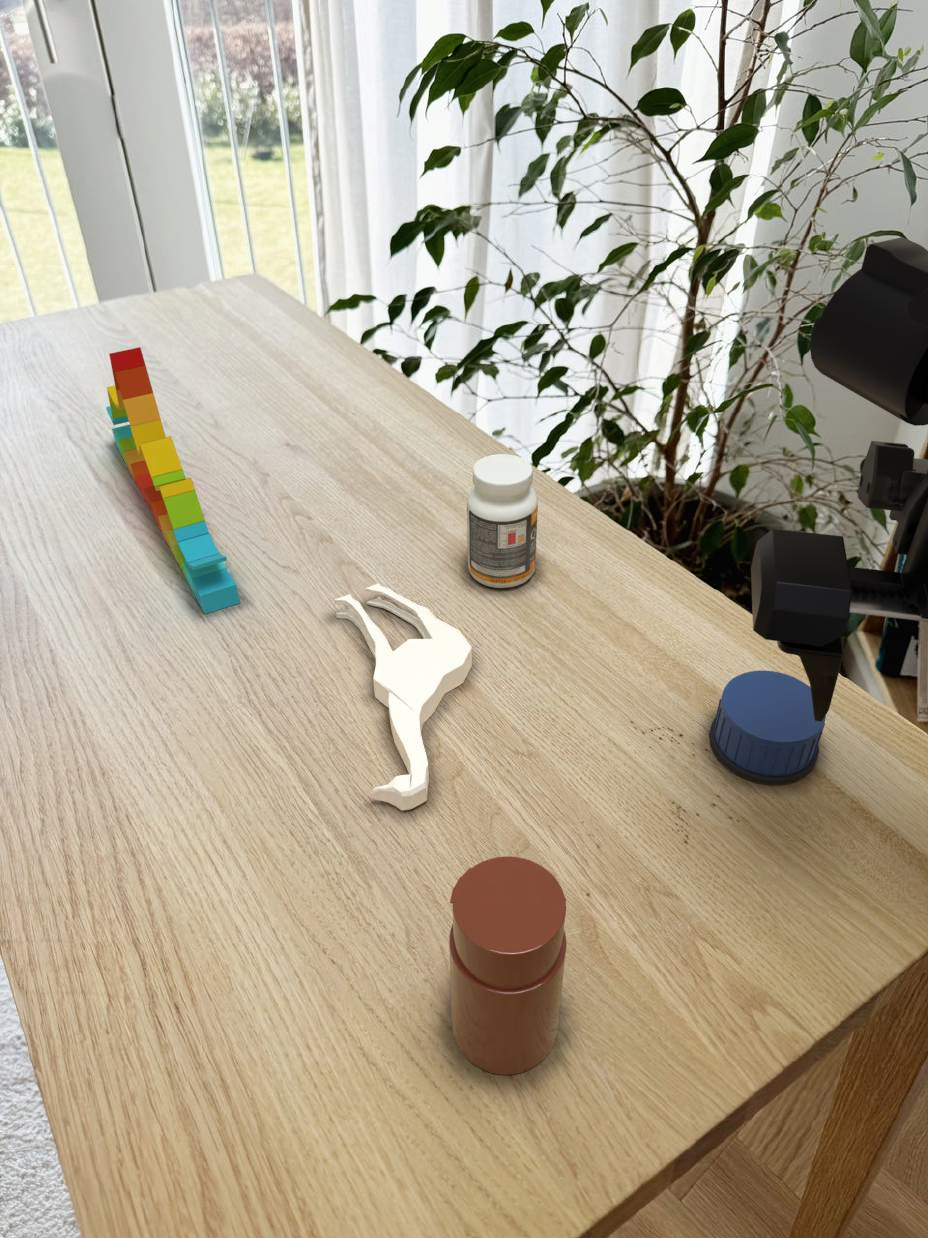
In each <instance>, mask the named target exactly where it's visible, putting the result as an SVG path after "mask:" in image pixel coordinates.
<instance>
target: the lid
mask: <svg viewBox="0 0 928 1238" xmlns="http://www.w3.org/2000/svg"><path fill="white" fill-rule="evenodd" d="M715 717H716V718H715ZM715 717H714V718H715V723H714V725H715V730H714V735H715V739H716V742H717V744H718V746H719V748H720V749H721V751H722V752H723V753H724V755H725V756H726V757H727V758H728V759H730V760H731V761H732V762H733V763H735V764H737V765H738V766H740V767H742V768H744V769H746V770H748V771H751V772H754V773H757V774H762V775H769V776H783V775H789V774H792V773H795V772H798V771H800V770H801V769H803V768H804V767H806V766H807V765H808V764H809V763H810V761H811V760H812V758H814V756H815V753H816V750H817V747H818V745H819V743H820V742H821V741H820V740H821V738H822V734H823V731H824V728H825V725H826V717H827V715H826V716H825V718H824V719H823V721H821V722H820V721H815V720H814V712H813V704H812V695H811V687H810V685H808V684H807V683H805V682H804V681H802V680H800V679H798V678H796V677H794V676H792V675H789V674H786V673H783V672H780V671H773V670H752V671H747V672H743V673H740V674H738V675H736V676H735V677H733V678H732V679H730V680H729V681H728V682H727V683H726V685H725V686H724V688H723V691H722V693H721V697H720V698H719V701H718V706H717V711H716V715H715Z"/></svg>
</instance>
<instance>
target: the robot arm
mask: <svg viewBox="0 0 928 1238" xmlns="http://www.w3.org/2000/svg"><path fill="white" fill-rule="evenodd" d="M809 351H810V359H811V361H812V363H813V366H814V368H815V369H816V370H817V371H818V372H819V373H820V374H821V375H823V376H825V377H827V378H828V379H830V380H832V381H834V382H835V383H837V384H839V385H841V386H842V387H844V388H845V389H847V390H849V391H851V392H853V393H854V394H856V395H858V396H860V397H862V398H863V399H865V400H866V401H868V402H870V403H872V404H873V405H875V406H877V407H879V408H881V409H882V410H883V411H884V412H885V411H886V412H887V413H889V414H891V415H893V416H894V417H896V418H898V419H899V420H901V421H902V422H904V423H907V424H909V425H912V426H913V427H914V426H915V427H917V426H928V249H926V248H925V247H924V246H923V245H921V244H920V243H917V242H915V241H912V240H910V239H907V238H905V237H902V236H901V237H897V238H892V239H887V240H882V241H877V242H873V243H870V244H868V245H867V246H866V249H865V252H864V256H863V260H862V264H861V268H859V270H857V271H856V272H854V273H853V274H852V275H851V276H850V277H848V278H847V279H846V280H845V281H844V282H843V283H842V284H841V285H840V286H839V288H837V290H836V291H835V292H834V293H833V295H832V296H831V298H830V299H829V301H828V302H827V304H826V305H825V307H824V309H823V311H822V313H821V315H820V316H818V317H817V318H816V319H815V321H814V323H813V327H812V331H811V333H810V343H809ZM857 498H858V499H859V501H860V502H861V503H862V504H863V506H864V507H865V508H866V509H872V510H873V509H874V510H882V511H889V516H888V518H889V519H890V521H896V522H897V526H896V529H895V532H894V535H893V537H892V544H893V548H894V552H895V555H902V556H905V560H904V563H903V566H902V569H901V571H891V570H882V569H874V568H873V569H872V568H865V567H854V566H849V565H848V557H847V553H846V552H847V551H846V546H845V540H844V536H843V535H836V534H835V535H834V534H826V533H825V534H824V533H815V532H806V531H797V530H787V529H780V528H779V529H778V528H772V529H771V530H769V531H768V532H767V533H765V534H764V535H763V536H762V537H761V538H759V539H758V540H757V541H756V543H755V549H754V552H753V557H752V561H751V565H750V575H751V577H750V578H751V580H750V581H751V602H752V603H751V606H752V608H751V609H752V611H751V613H752V631H753V632H754V633H756V634H757V635H759V637H762V638H763V639H764V640H766V641H772V642H773V641H774V642H776V643H777V647H778V648H779V650H780V651H781V652H783V653H785V654H788V655H794V656H798V657H799V660H800V661H801V664H802V667H803V669H804V672H805V675H806V677H807V680H808V682H809V687H811V695H812V704H813V712H814V720H815V721H820V722H821V721H823V719H824V718H825V716H826V717H827V714H828V712H829V711H830V708H831V704H832V700H833V696H834V693H835V689H836V685H837V681H838V677H839V674H840V670H841V665H842V662H843V658H844V647H843V640H842V637H844V635H845V633H846V629H847V626H848V623H849V620H850V614H858V615H859V614H860V615H865V616H866V615H868V616H874V617H883V618H894V619H900V620H901V619H902V620H909V621H917V622H927V623H928V459H927V458H926V459H925V458H917V457H915V450H914V449H913V448H912V447H909V446H908V445H907V444H906V443H899V442H889V441H888V442H887V441H877V440H871V441H870V443H869V447H868V450H867V453H866V456H865V459H864V462H863V465H862V468H861V472H860V477H859V482H858V488H857Z"/></svg>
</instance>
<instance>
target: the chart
mask: <svg viewBox="0 0 928 1238" xmlns="http://www.w3.org/2000/svg"><path fill="white" fill-rule="evenodd" d="M108 355H109V361H110V366H111V370H112V376H113V383H114V385H109V386H107V387H106V391H107V397H108V401H109V406H105V410H106V411H107V415H108V416H109V419H110V420H111V423H112V424H113V426H117V425H121V424H124V425H122V426H118V427H113V428H111V431H112V434H113V438H114V442H115V446H116V448H117V449H118V451H119V454H120V455H121V457H122V459H123V461H124V463H125V465H126V467H127V468H128V471H129V473H130V474H131V476H132V478H133V480H134V483H135V484H136V487H137V488H138V490H139V492H140V494H141V495H142V497H143V500H144V501H145V504H146V505H147V507H148V509H149V511H150V513H151V515H152V517H153V519H154V520H155V522H156V524H157V527H158V528H159V530H160V531H161V534H162V536H163V537H164V540H165V541H166V544H167V545H168V547H169V549H170V552H171V554H173V557H174V558H175V561H176V563H177V564H178V566H179V568H180V570H181V572H182V574H183V576H184V578H185V579H186V582H187V584H188V585H189V587H190V589H191V591H192V594H193V595H194V597H195V598H196V600H197V603H198V604H199V607H200V608H201V610H202V613H203V614H204V615H207V614H209V613H213V612H217V611H219V610H223V609H225V608H229V607H232V606H236V605H239V604H241V601H240V596H239V590H238V589H239V587H238V584H237V583H236V582H235V580H234V578H233V576H232V574H231V572H230V569H229V568H228V566H226V563H225V562H227V561H228V558H227V556H226V555H223V554H222V553H220V552H219V550H218V548H217V546H216V544H215V542H214V540H213V538H212V536H211V534H210V531H209V528H208V526H207V522H206V519H205V516H204V513H203V509H202V507H201V504H200V501H199V497H198V495H197V492H196V488H195V486H194V482H193V478H192V477H189V478H186V474H185V472H184V469H183V466H182V463H181V460H180V457H179V454H178V452H177V448H176V446H175V443H174V440H173V438H172V435H170V436H166V432H165V430H164V425H163V423H162V419H161V415H160V411H159V407H158V404H157V402H156V397H155V394H154V390H153V387H152V384H151V379H150V375H149V372H148V369H147V365H146V361H145V358H144V355H143V351H142V348H141V347H134V348H129V349H125V350H119V351H116V352H111V353H109V354H108ZM125 423H129V424H126V425H125Z"/></svg>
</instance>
